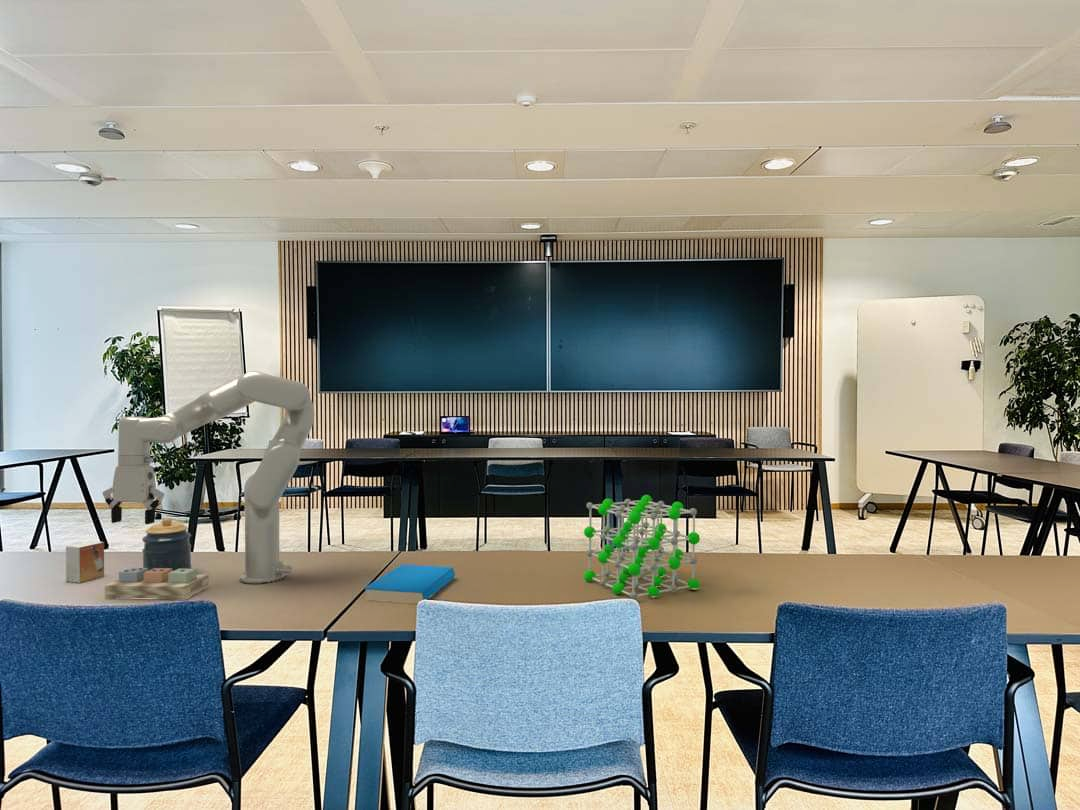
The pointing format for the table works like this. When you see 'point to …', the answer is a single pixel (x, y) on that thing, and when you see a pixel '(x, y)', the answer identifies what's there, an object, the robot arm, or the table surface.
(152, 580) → the orange square block
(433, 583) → the book
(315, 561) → the table surface
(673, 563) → the molecular structure model
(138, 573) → the building block
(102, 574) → the small box
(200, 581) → the wooden tile tray
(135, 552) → the table surface
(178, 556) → the canister
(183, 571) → the tile
